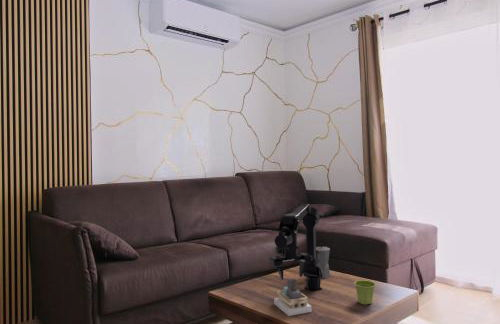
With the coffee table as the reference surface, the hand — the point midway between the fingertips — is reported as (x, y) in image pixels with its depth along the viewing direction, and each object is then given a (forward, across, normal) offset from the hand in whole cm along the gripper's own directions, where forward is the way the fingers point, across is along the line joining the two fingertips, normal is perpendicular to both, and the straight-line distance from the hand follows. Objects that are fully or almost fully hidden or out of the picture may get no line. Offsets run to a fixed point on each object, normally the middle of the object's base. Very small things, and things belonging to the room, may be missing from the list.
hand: (291, 278), depth 180 cm
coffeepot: (+13, -35, -33) cm, 50 cm away
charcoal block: (+8, 0, +4) cm, 9 cm away
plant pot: (+13, -33, +9) cm, 36 cm away
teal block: (+8, 0, -2) cm, 8 cm away
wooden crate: (+10, 0, +1) cm, 10 cm away
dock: (+13, 0, +1) cm, 13 cm away
